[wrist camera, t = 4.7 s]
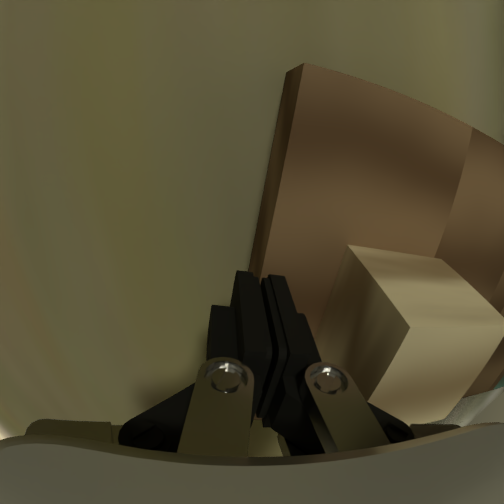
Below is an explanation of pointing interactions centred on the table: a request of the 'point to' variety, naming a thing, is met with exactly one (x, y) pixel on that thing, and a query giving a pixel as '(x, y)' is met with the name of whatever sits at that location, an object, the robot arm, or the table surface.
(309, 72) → the trap board
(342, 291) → the birch block
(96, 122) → the table surface
